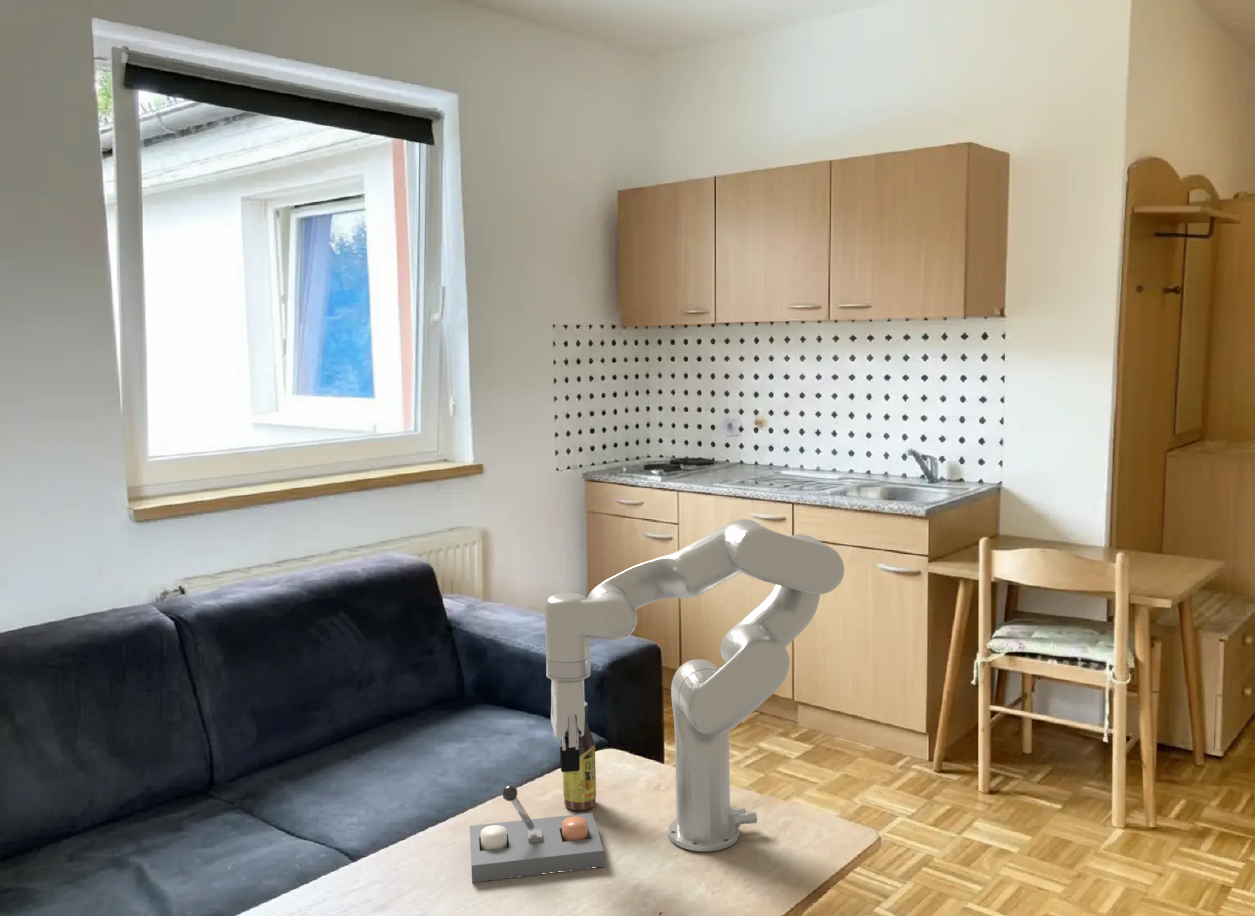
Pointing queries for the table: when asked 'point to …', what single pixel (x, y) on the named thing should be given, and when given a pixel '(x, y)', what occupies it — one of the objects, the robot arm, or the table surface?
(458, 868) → the table surface
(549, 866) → the control panel
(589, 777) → the sauce bottle
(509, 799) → the toggle lever
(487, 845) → the offwhite button
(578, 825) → the terracotta button
